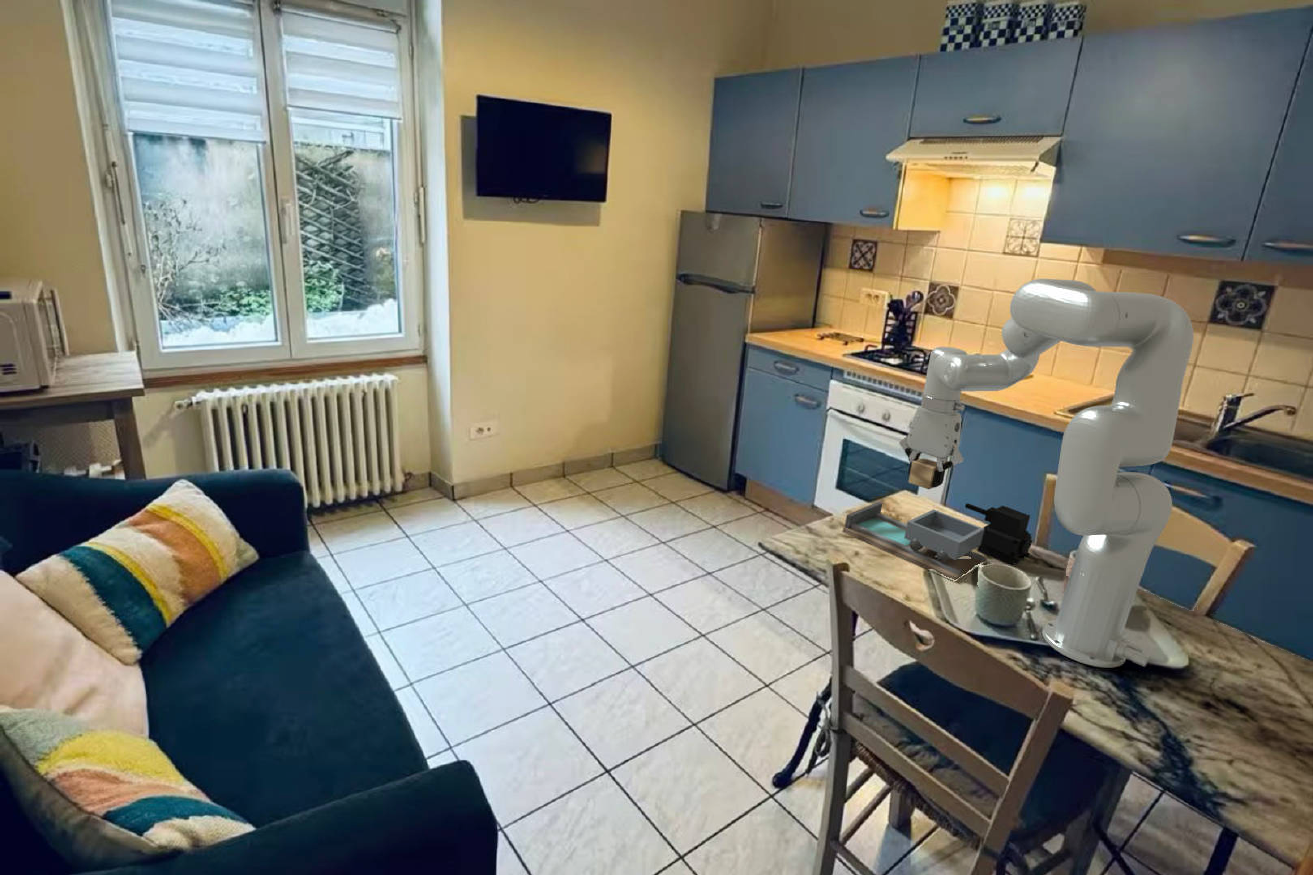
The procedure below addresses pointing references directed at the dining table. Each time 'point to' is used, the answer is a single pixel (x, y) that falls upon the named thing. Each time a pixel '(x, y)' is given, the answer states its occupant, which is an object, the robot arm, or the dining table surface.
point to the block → (922, 473)
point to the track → (902, 542)
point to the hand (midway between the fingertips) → (924, 481)
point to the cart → (943, 535)
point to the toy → (1004, 534)
